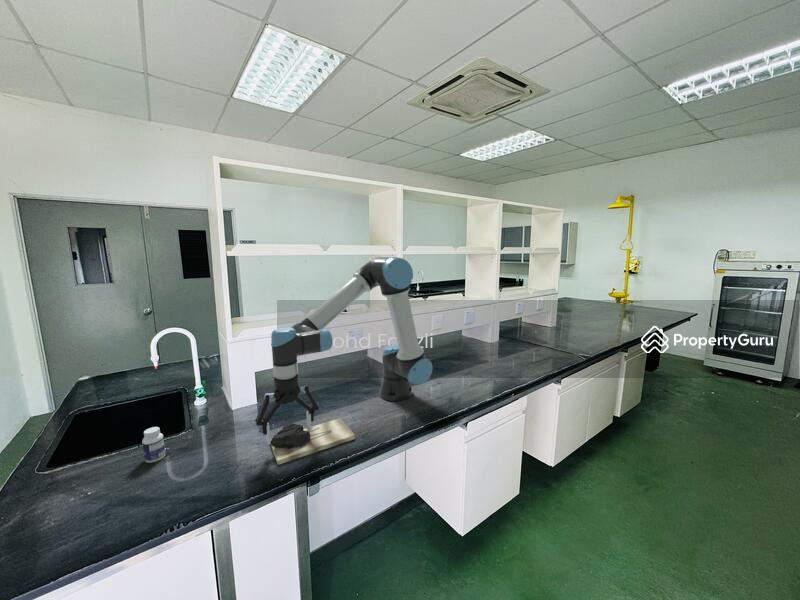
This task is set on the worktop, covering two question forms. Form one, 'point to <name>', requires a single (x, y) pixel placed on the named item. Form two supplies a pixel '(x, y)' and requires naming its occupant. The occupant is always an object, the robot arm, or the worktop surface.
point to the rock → (290, 436)
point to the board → (316, 441)
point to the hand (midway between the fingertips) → (289, 436)
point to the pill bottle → (153, 445)
